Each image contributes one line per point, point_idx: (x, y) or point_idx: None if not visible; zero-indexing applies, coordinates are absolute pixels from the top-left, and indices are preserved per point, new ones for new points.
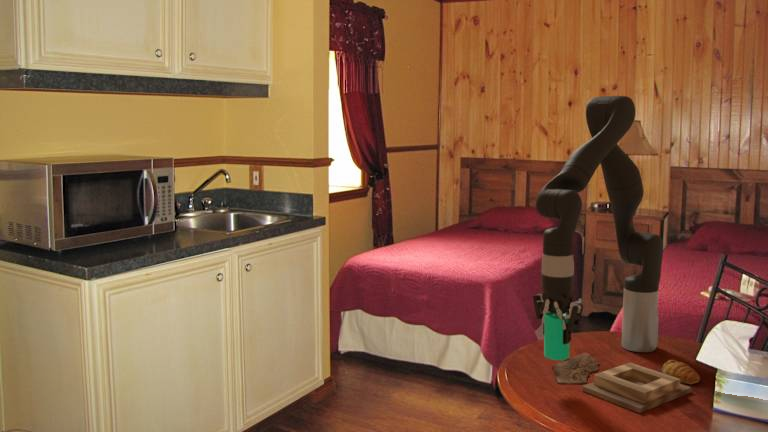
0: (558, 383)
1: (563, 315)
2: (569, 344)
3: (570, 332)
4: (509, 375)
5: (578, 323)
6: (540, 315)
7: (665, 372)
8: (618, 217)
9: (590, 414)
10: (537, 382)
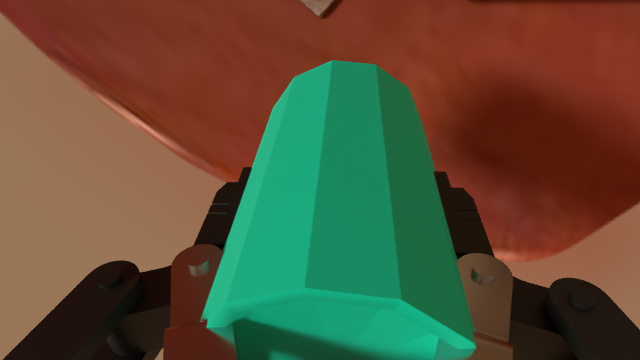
0: (321, 14)
1: (370, 327)
2: (419, 130)
3: (486, 248)
4: (142, 111)
5: (625, 329)
6: (150, 353)
7: None
8: None
9: (591, 153)
10: (258, 77)
